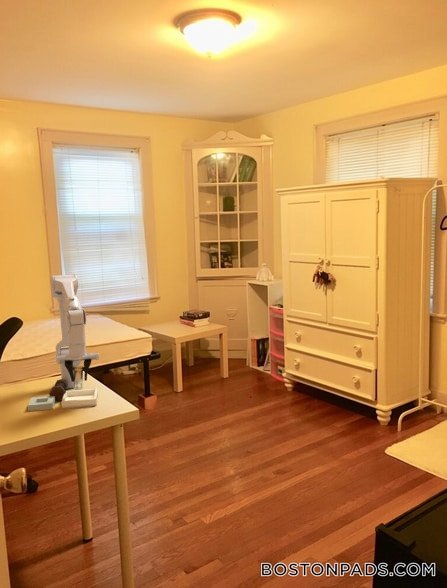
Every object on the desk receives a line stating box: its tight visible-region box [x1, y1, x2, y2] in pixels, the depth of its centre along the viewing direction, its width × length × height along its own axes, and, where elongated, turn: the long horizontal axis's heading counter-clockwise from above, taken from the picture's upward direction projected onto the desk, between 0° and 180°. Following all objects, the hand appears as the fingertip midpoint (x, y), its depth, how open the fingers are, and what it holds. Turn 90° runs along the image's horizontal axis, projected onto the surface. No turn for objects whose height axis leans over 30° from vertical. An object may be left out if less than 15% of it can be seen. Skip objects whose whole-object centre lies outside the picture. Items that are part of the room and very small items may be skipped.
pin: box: [73, 365, 84, 390], centre depth 175 cm, size 4×4×8 cm
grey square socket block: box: [27, 395, 56, 412], centre depth 172 cm, size 8×8×2 cm
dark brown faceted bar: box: [48, 378, 68, 402], centre depth 184 cm, size 6×5×15 cm
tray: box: [61, 387, 99, 410], centre depth 176 cm, size 12×12×2 cm
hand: (79, 380), depth 175 cm, fingers closed on pin, 4 cm apart
